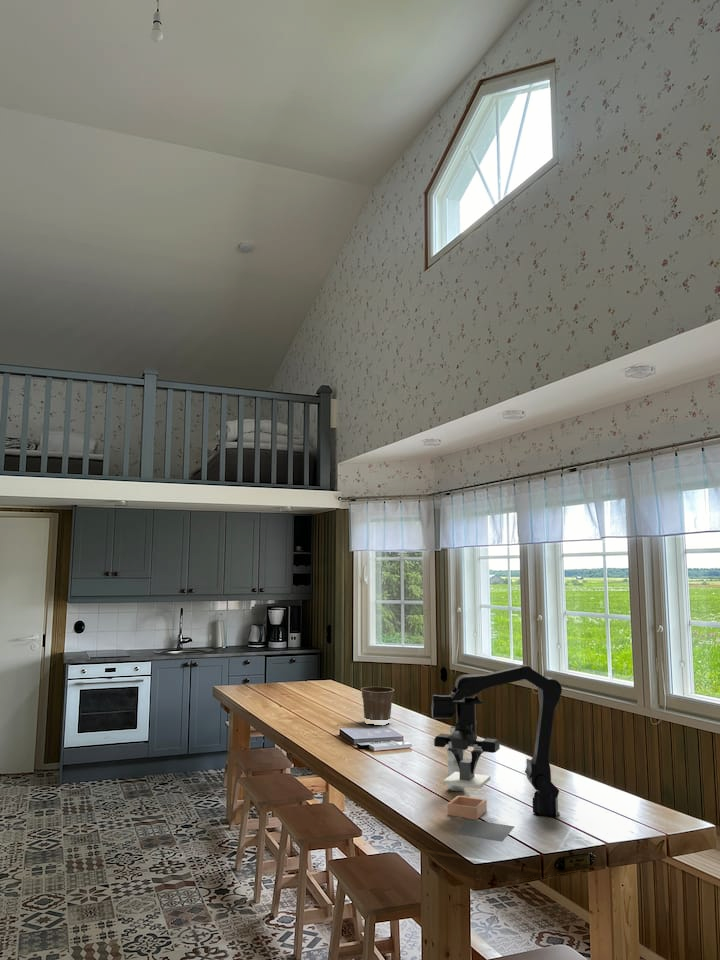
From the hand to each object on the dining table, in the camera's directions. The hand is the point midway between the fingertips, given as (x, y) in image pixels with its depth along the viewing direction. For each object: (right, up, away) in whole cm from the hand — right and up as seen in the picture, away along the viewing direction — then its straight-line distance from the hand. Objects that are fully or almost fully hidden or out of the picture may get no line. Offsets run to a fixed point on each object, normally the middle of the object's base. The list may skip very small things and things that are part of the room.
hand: (467, 773), depth 215 cm
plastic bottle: (0, -15, +23) cm, 27 cm away
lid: (0, -2, 0) cm, 2 cm away
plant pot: (-23, -30, +131) cm, 137 cm away
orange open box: (0, -12, -2) cm, 12 cm away
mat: (+3, -10, -16) cm, 19 cm away
